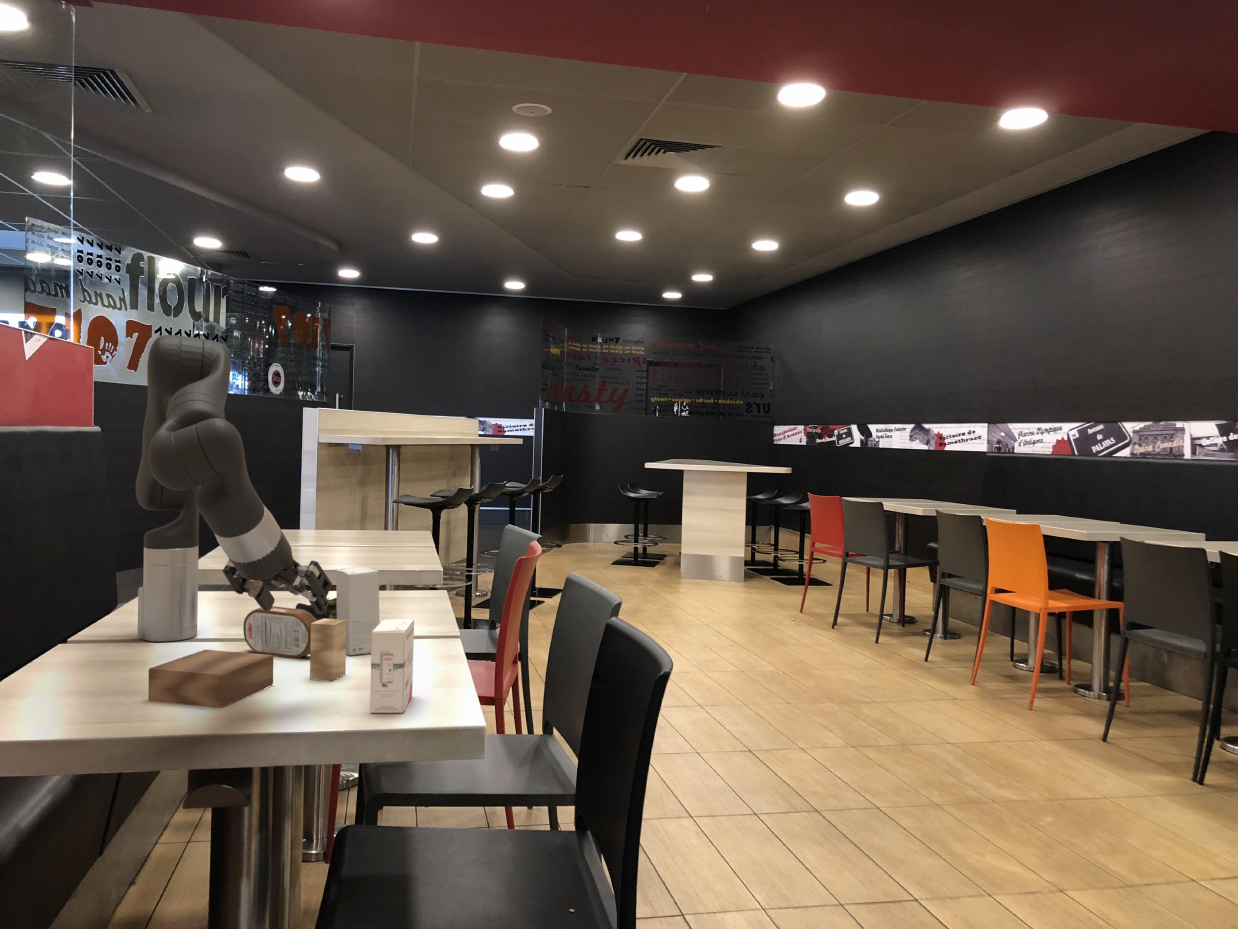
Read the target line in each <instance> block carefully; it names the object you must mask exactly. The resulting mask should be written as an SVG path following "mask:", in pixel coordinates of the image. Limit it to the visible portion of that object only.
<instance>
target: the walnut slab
mask: <svg viewBox="0 0 1238 929" xmlns="http://www.w3.org/2000/svg"><path fill="white" fill-rule="evenodd" d="M274 658H275V657H274V655H266V654H260V653H252V652H249V653H248V652H238V651H229V650H228V651H227V650H214V649H203V650H200V651H197V652H194V653H191V654H188V655H185V656H182V657H179V658H176V659H172V660H170V661H167V662H164V663H161V664H158V665H154V666H152V667H149V668H148V690H147V691H148V692H147V693H148V696H147V699H148V701H149V702H159V703H170V704H179V705H190V706H200V707H209V708H219V709H222V708H225V707H227V706H230V705H232V704H233V703H236V702H238V701H241V700H243V699H245V698H247V696H248V697H249V696H253V695H254V694H256V692H257V693H259V692H261V691H263V690H265V689H264V688H266V687H268V686H270V685H272V684H273V685H274ZM273 685H272V686H273ZM270 687H271V686H270ZM268 688H269V687H268ZM262 689H263V690H262ZM266 689H267V688H266ZM260 690H261V691H260ZM258 691H259V692H258ZM253 693H254V694H253Z"/></svg>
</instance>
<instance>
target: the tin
mask: <svg viewBox="0 0 1238 929" xmlns="http://www.w3.org/2000/svg"><path fill="white" fill-rule="evenodd" d="M313 622H316V619H315V618H314V617H313V616H312V615H311V614H310V613H309V612H307V611H305V610H302V609H294V607H293V608H292V607H283V606H276V605H273V606H272V608H271V610H270V611H264V610H263V608H262V607H261V606H259V607H258V608H256V609H253V610H251V611H249V613H247V614H246V616H245V617H244V620H243V627H242V628H243V630H242V631H243V636H244V637H243V638H244V641H245V643H246V645H247V646H248V647H249V648H250V649H251V650H252V651H253V652H254V653H256V654H265V655H266V654H268V655H276V656H275V657H281V656H283V657H282V658H288V657H289V659H300V658H303V657H305V656H309V655H310V647H311V623H313Z"/></svg>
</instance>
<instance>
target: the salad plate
mask: <svg viewBox="0 0 1238 929" xmlns="http://www.w3.org/2000/svg"><path fill="white" fill-rule="evenodd" d="M326 598H327V600H328V605H327V607H326V610H325V611H324V612H323V614H317V613H316V612H315V610H314V608H313V607H312V605H311V604H306V603H301V602H298V603H296V606H295V607H293V609H302V610H305V611H307V612H309V613H310V614H311V615H312V616H313V617H314V618H315V619H316V621H319V620H321V619H337V597H334V598H332V599H330V597H326Z"/></svg>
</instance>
